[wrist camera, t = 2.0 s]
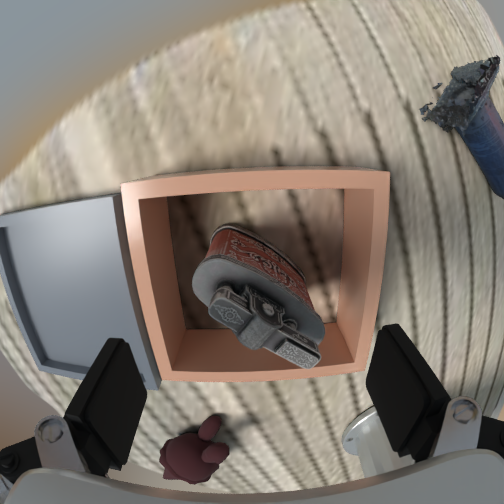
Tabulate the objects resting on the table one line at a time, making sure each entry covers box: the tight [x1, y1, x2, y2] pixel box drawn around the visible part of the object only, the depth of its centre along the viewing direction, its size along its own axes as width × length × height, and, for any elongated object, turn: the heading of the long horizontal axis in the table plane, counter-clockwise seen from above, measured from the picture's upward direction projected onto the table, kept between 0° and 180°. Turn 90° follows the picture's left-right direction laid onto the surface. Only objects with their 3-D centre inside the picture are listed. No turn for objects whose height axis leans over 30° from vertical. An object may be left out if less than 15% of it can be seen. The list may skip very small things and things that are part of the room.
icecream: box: [159, 416, 229, 485], centre depth 26 cm, size 7×7×15 cm
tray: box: [0, 193, 162, 390], centre depth 22 cm, size 16×18×2 cm
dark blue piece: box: [420, 55, 504, 199], centre depth 15 cm, size 9×8×12 cm
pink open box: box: [121, 166, 390, 382], centre depth 19 cm, size 15×14×6 cm
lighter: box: [192, 223, 325, 369], centre depth 17 cm, size 8×3×10 cm, turn 55°
